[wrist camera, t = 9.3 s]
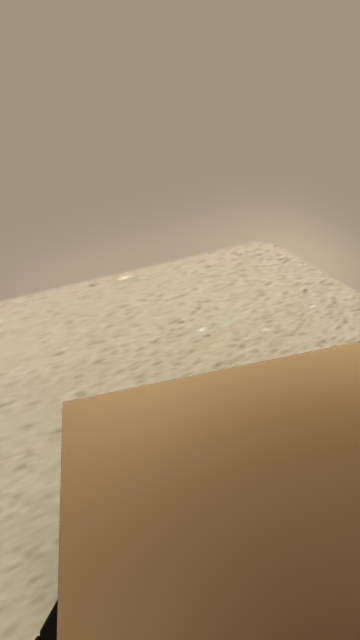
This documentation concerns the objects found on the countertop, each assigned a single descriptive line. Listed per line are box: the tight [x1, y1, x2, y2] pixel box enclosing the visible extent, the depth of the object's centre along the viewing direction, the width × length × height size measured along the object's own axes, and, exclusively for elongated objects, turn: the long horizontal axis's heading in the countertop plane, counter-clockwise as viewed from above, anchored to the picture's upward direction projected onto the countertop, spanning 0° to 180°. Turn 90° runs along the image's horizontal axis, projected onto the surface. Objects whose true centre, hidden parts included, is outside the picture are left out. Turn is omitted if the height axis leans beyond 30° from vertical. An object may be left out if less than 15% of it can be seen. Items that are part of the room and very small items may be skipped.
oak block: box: [57, 341, 360, 640], centre depth 8 cm, size 6×6×12 cm
